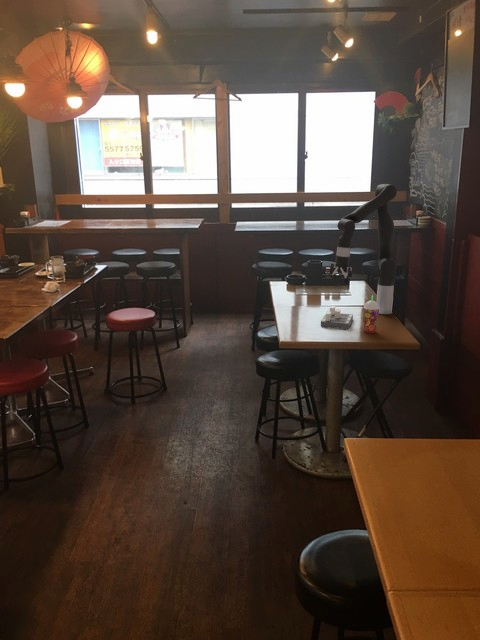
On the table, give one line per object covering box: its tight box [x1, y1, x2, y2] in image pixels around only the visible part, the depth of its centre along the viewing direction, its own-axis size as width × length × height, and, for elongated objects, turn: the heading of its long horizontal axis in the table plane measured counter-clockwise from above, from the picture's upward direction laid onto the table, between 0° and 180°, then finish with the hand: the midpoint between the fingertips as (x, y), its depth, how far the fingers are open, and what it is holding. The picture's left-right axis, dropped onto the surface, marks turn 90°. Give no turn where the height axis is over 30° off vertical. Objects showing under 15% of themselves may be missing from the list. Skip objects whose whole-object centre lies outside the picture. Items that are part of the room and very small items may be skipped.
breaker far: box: [329, 305, 336, 315], centre depth 320 cm, size 2×5×4 cm, turn 162°
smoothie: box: [362, 295, 380, 334], centre depth 295 cm, size 8×8×20 cm
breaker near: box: [325, 310, 332, 321], centre depth 308 cm, size 2×5×4 cm, turn 162°
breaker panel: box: [320, 312, 354, 330], centre depth 314 cm, size 15×20×3 cm
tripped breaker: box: [335, 308, 342, 319], centre depth 312 cm, size 2×5×4 cm, turn 162°
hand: (339, 283), depth 320 cm, fingers open, 8 cm apart
